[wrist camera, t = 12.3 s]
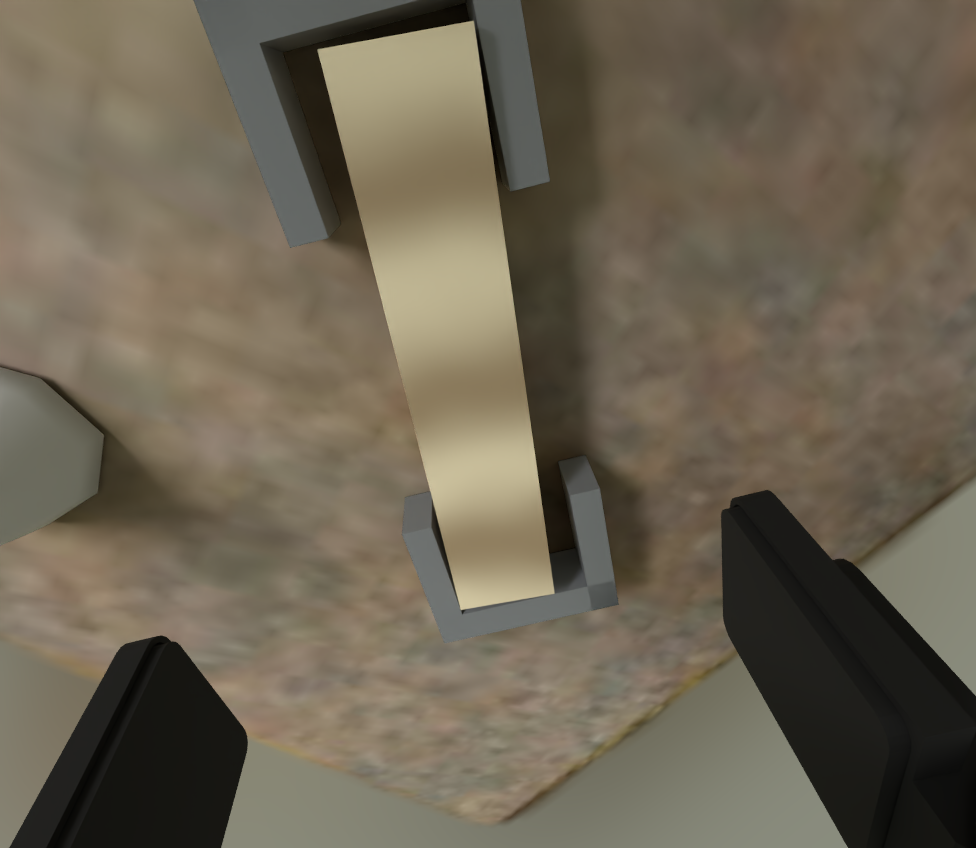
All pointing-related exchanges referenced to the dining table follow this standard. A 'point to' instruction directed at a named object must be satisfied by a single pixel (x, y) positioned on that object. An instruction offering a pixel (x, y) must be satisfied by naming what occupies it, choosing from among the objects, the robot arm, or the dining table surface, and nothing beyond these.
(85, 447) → the flask
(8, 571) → the dining table surface
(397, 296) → the birch slat
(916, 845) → the robot arm
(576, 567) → the end cap
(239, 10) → the end cap
